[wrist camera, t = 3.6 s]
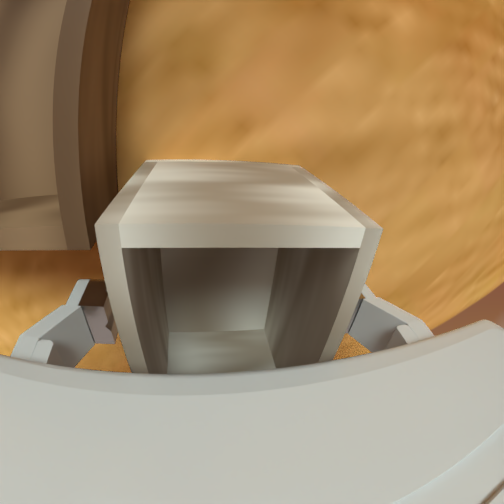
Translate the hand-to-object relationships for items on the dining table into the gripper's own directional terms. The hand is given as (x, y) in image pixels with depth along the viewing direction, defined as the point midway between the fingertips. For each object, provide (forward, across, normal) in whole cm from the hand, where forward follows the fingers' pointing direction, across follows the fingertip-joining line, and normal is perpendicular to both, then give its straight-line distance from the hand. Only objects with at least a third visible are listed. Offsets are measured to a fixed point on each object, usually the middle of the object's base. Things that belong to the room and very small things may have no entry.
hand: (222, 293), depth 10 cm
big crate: (+2, +10, -10) cm, 14 cm away
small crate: (+2, 0, 0) cm, 2 cm away
